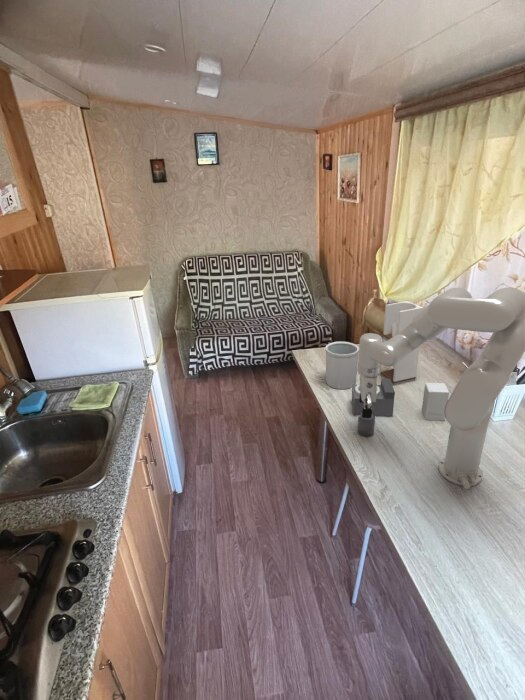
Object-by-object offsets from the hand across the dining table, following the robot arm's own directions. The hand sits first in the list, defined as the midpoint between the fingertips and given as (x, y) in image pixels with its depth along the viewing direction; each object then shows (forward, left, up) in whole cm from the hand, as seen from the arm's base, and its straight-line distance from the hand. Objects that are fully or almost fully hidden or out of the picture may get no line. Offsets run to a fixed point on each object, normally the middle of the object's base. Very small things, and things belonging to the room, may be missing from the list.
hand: (365, 409), depth 142 cm
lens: (0, -1, -10) cm, 10 cm away
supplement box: (+12, -28, -10) cm, 31 cm away
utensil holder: (+38, +6, -10) cm, 39 cm away
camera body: (+16, -5, -10) cm, 19 cm away
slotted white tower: (+42, -20, -10) cm, 47 cm away
